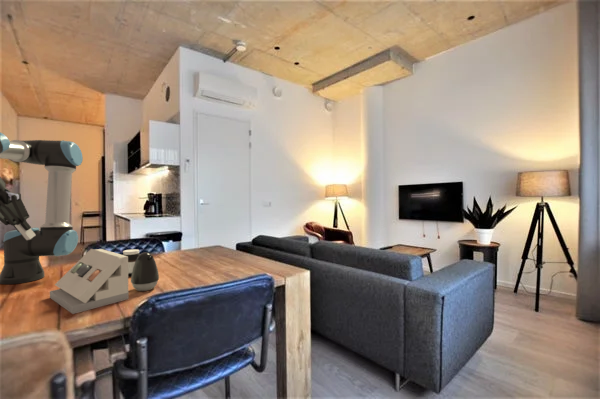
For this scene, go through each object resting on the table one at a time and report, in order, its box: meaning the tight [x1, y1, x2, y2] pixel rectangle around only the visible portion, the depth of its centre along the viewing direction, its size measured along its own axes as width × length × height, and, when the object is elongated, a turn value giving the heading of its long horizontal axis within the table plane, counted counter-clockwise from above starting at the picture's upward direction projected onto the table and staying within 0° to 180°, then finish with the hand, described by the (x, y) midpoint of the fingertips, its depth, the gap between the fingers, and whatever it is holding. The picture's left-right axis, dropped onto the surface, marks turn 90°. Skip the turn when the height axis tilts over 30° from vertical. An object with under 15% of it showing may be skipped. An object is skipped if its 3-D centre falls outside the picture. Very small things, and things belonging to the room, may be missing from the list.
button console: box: [49, 248, 129, 315], centre depth 110 cm, size 25×17×17 cm
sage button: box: [72, 263, 83, 273], centre depth 114 cm, size 4×4×4 cm
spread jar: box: [122, 249, 141, 277], centre depth 142 cm, size 12×11×12 cm
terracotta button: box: [89, 270, 101, 281], centre depth 104 cm, size 4×4×4 cm
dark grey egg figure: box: [130, 252, 160, 292], centre depth 121 cm, size 10×10×15 cm
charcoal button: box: [76, 264, 91, 277], centre depth 108 cm, size 4×4×4 cm
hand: (31, 237), depth 107 cm, fingers closed
